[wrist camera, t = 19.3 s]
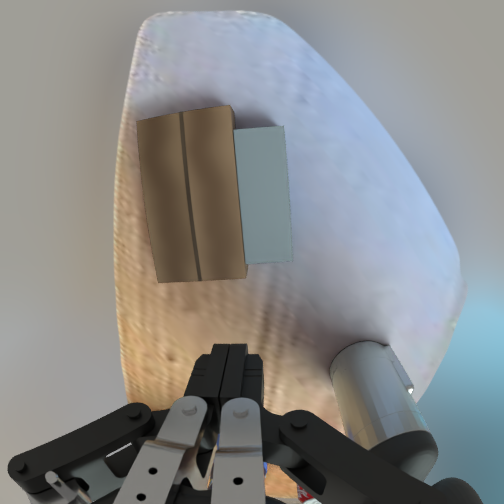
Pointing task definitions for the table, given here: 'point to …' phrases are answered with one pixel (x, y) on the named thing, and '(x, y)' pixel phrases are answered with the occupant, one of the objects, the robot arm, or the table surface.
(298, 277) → the table surface
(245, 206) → the slate plank
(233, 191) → the floorboards
